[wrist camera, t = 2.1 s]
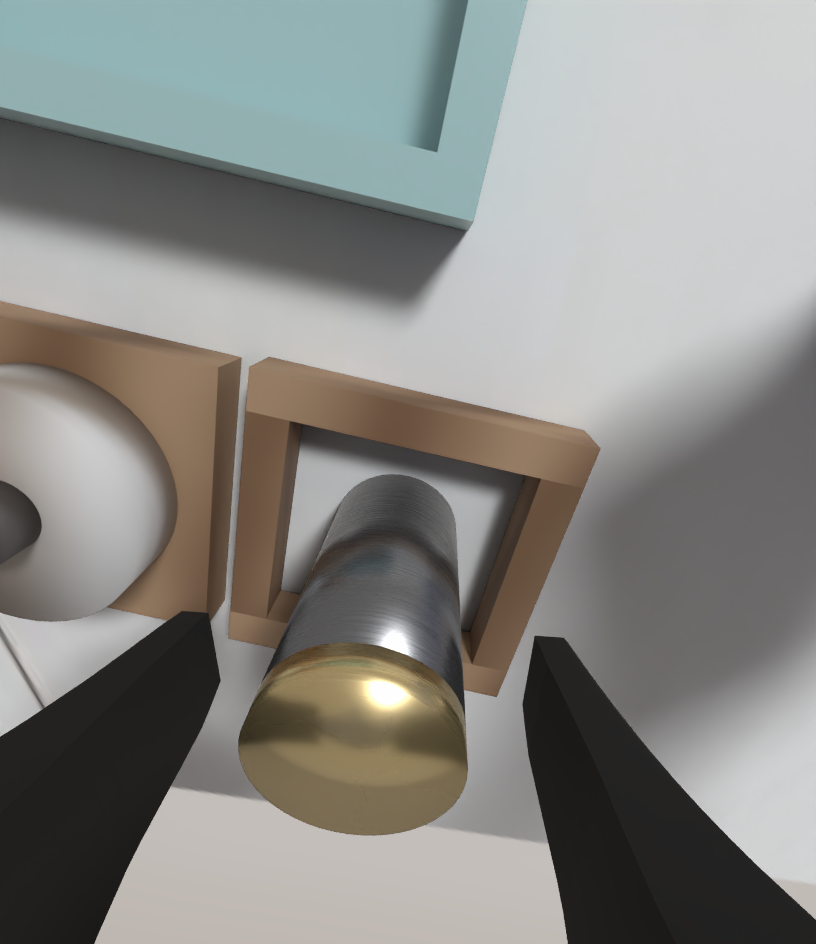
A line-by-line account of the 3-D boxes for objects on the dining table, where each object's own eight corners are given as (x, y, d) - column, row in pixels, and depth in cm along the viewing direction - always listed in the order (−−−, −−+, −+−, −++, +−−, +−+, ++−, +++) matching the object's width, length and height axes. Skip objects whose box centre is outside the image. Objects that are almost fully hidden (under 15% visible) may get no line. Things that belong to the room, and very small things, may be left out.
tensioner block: (584, 430, 14) (646, 500, 9) (492, 663, 17) (507, 785, 13) (-72, 277, 13) (-306, 280, 9) (-19, 550, 17) (-168, 640, 13)
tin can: (470, 490, 15) (497, 710, 7) (439, 590, 16) (436, 853, 9) (346, 462, 15) (247, 656, 7) (327, 565, 16) (231, 809, 9)
